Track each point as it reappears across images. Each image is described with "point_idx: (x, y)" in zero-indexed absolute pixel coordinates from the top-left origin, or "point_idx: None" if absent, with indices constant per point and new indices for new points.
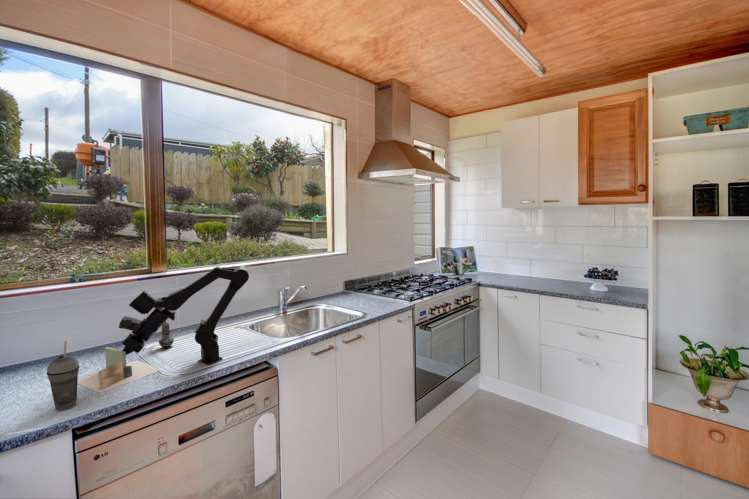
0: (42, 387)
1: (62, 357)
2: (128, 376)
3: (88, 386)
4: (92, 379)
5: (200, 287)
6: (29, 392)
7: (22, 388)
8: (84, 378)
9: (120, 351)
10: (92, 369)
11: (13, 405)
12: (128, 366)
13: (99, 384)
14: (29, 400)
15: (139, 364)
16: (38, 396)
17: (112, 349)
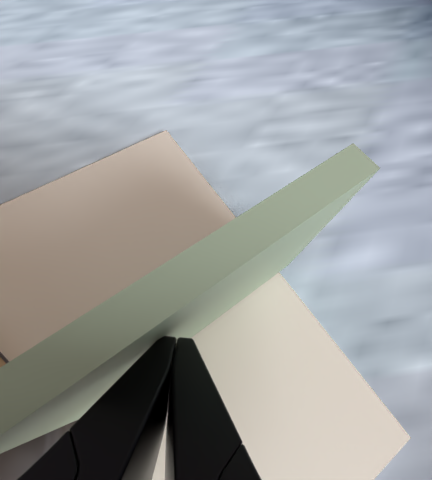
0: (169, 51)
1: None
2: None
3: (23, 202)
4: (135, 205)
5: None
6: (138, 27)
7: (198, 8)
8: (177, 167)
9: (31, 370)
10: None
11: (27, 8)
12: (22, 457)
13: (10, 253)
14: (41, 36)
15: None
16: (65, 52)
17: (228, 231)
